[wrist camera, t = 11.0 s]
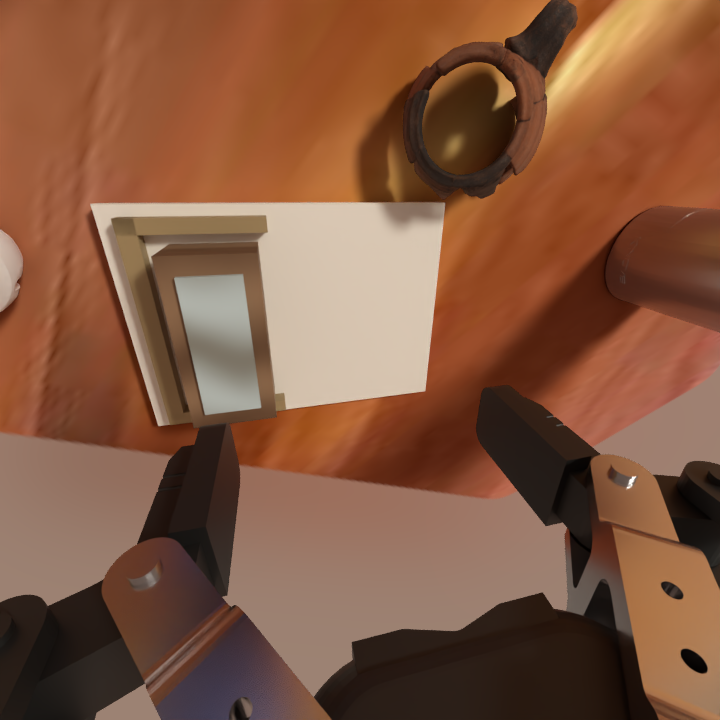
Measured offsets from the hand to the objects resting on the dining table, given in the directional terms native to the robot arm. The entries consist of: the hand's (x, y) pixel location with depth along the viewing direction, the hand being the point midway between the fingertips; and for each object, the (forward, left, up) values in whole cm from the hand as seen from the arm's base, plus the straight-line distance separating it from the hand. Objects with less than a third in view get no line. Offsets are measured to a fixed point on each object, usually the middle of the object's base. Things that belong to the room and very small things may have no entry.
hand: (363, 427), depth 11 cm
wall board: (+1, +3, -20) cm, 20 cm away
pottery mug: (-13, -11, -20) cm, 26 cm away
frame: (+6, +3, -19) cm, 20 cm away
